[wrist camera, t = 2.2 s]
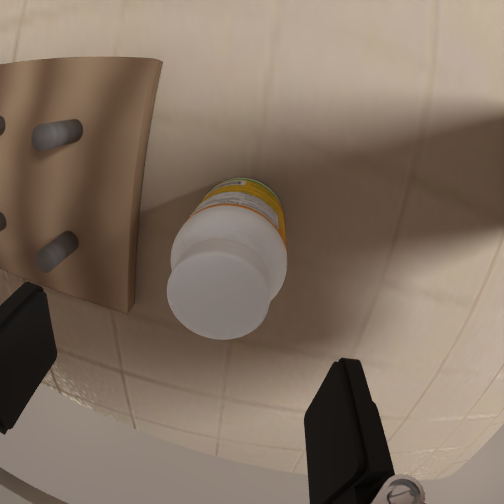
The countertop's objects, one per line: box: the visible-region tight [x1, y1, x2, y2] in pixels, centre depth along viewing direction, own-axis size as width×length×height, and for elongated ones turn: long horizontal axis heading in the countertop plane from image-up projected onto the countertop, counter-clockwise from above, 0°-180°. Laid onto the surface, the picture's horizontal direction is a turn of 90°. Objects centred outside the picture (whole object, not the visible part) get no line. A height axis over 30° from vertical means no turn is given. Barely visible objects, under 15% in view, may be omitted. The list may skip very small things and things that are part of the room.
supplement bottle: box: [167, 178, 287, 340], centre depth 16 cm, size 5×5×10 cm
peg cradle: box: [0, 57, 163, 314], centre depth 18 cm, size 18×18×5 cm
